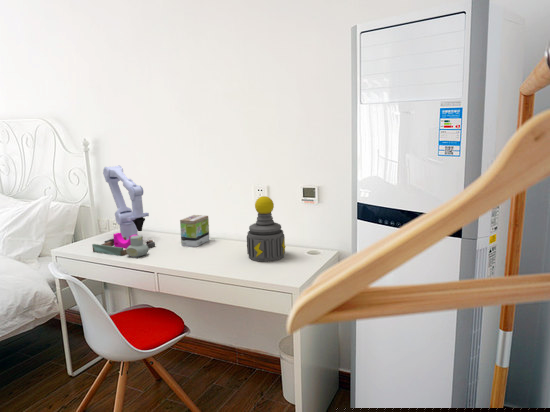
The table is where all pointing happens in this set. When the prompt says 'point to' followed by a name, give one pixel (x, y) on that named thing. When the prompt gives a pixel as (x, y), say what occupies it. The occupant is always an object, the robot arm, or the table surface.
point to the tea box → (194, 230)
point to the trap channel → (109, 248)
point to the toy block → (121, 241)
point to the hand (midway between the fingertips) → (139, 230)
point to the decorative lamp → (265, 234)
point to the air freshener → (137, 247)
